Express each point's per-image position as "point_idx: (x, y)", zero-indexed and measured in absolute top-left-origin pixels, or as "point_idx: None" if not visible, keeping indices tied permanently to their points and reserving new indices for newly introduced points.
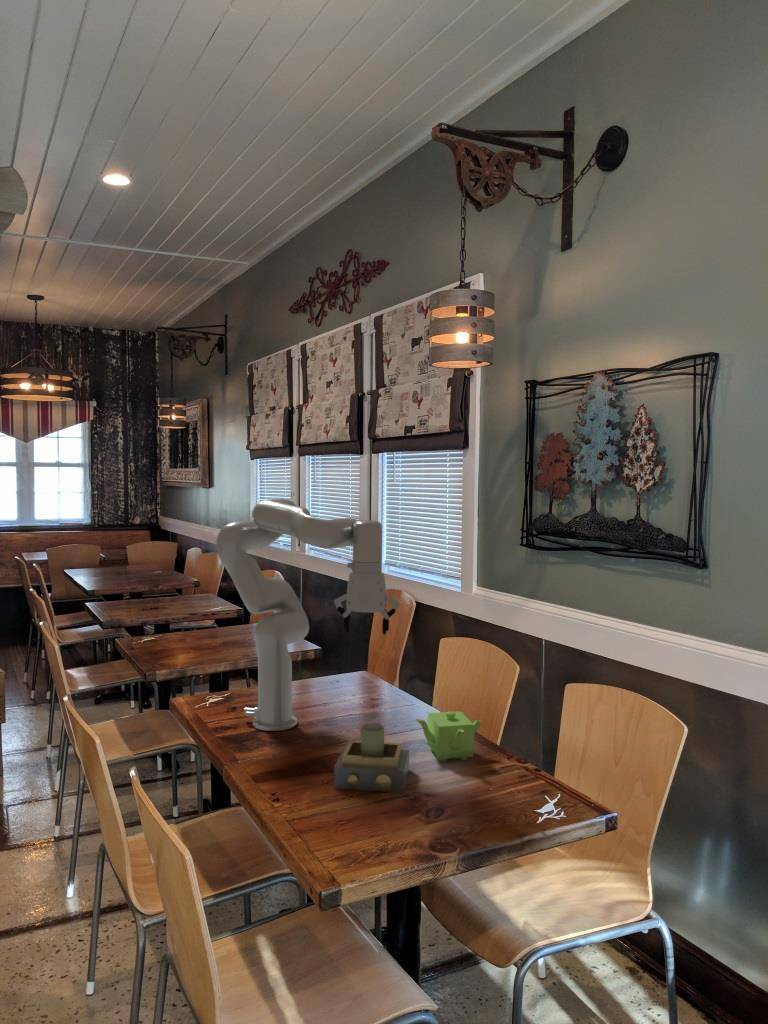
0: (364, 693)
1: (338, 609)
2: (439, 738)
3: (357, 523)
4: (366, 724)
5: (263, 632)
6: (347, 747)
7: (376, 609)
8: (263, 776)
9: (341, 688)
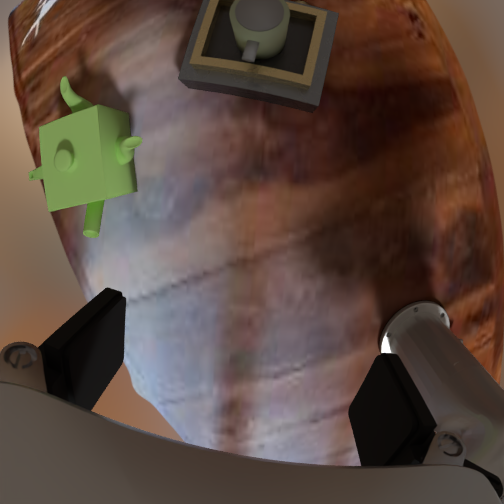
0: (243, 450)
1: (499, 478)
2: (109, 108)
3: None
4: (274, 23)
5: None
6: (315, 49)
7: (45, 425)
8: (443, 98)
9: None
